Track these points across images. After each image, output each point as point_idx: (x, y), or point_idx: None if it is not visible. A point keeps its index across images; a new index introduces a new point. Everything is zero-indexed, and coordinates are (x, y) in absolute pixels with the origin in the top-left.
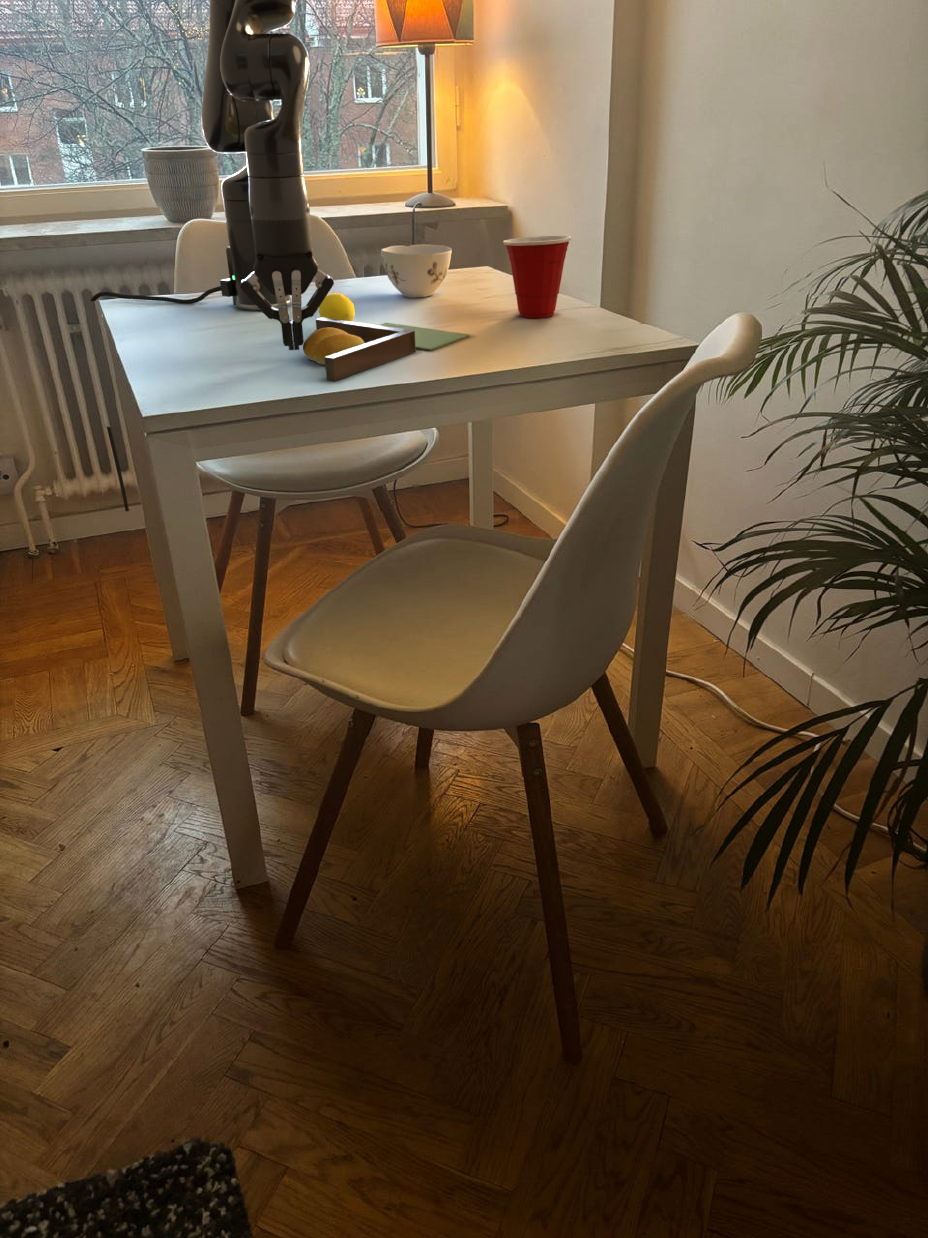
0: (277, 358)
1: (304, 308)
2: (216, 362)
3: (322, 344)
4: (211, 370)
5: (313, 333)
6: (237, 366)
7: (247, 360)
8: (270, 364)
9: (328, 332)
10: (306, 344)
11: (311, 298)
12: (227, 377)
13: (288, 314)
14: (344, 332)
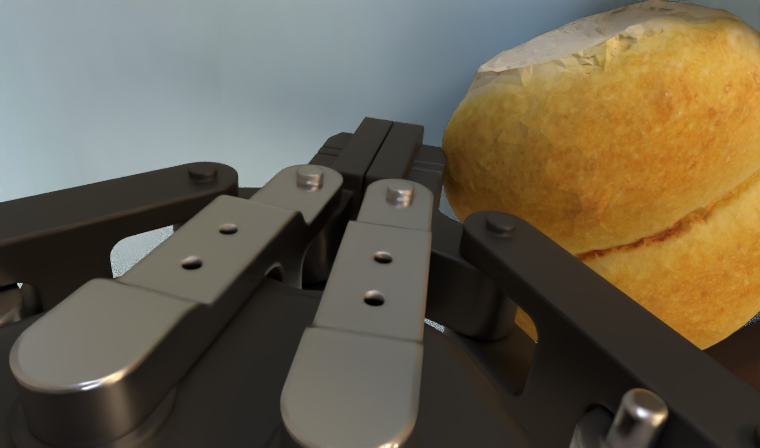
0: (321, 52)
1: (443, 311)
2: (39, 12)
3: (518, 316)
4: (52, 144)
5: (507, 192)
6: (145, 125)
7: (177, 32)
8: (285, 151)
9: (597, 236)
10: (454, 203)
11: (520, 307)
12: (132, 263)
13: (331, 256)
14: (733, 170)
